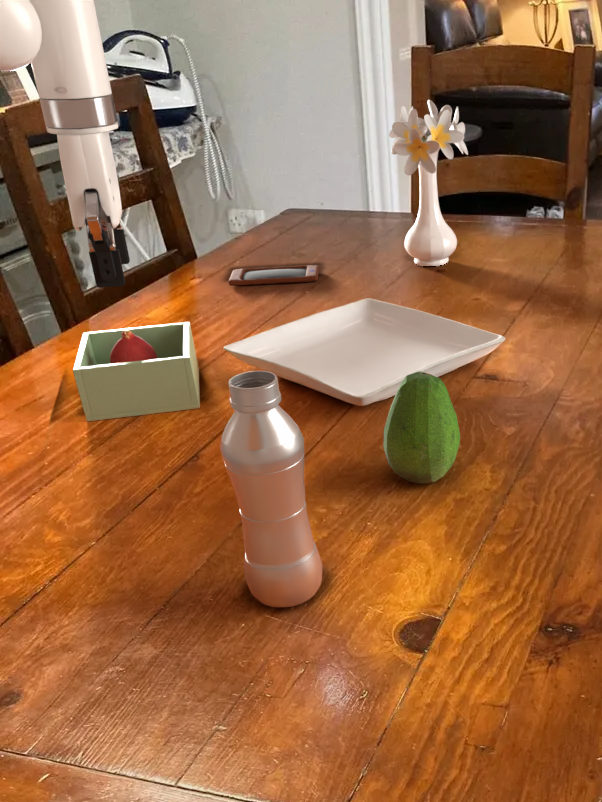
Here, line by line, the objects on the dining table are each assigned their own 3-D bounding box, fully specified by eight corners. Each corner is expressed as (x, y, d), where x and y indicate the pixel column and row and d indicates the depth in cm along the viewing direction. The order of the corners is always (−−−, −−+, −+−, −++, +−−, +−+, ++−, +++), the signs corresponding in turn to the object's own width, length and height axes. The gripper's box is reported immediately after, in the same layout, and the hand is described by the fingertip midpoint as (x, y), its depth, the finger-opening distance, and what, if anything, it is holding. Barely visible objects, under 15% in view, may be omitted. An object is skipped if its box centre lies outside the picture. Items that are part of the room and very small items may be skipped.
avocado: (454, 499, 95) (450, 388, 89) (379, 494, 97) (370, 385, 90) (466, 463, 102) (464, 357, 95) (396, 460, 103) (389, 354, 96)
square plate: (362, 426, 111) (359, 395, 108) (223, 372, 126) (218, 344, 124) (508, 359, 127) (508, 331, 124) (369, 319, 142) (367, 293, 140)
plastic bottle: (339, 599, 82) (312, 381, 70) (268, 626, 79) (228, 404, 67) (305, 566, 86) (275, 357, 74) (237, 591, 83) (194, 377, 71)
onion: (125, 382, 123) (111, 322, 118) (169, 381, 123) (156, 320, 118) (112, 400, 118) (96, 338, 113) (157, 398, 118) (143, 336, 113)
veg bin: (86, 421, 114) (72, 370, 110) (95, 380, 125) (82, 332, 121) (199, 408, 116) (189, 357, 113) (199, 369, 127) (189, 321, 123)
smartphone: (316, 276, 158) (227, 280, 157) (317, 281, 158) (228, 286, 158) (318, 264, 163) (232, 268, 163) (319, 269, 164) (233, 274, 163)
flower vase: (395, 280, 158) (385, 115, 143) (398, 250, 173) (388, 98, 158) (472, 277, 158) (469, 112, 143) (468, 247, 173) (465, 95, 158)
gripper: (53, 106, 108) (88, 258, 118) (33, 127, 94) (74, 298, 104) (120, 103, 110) (149, 254, 119) (110, 124, 96) (143, 292, 105)
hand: (114, 274), depth 112 cm, fingers open, 9 cm apart
